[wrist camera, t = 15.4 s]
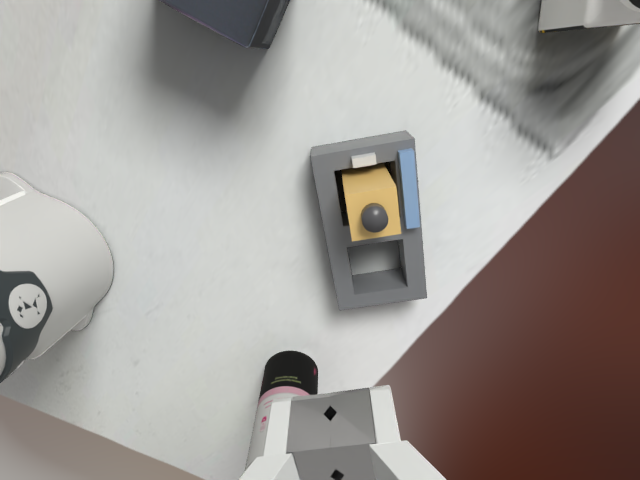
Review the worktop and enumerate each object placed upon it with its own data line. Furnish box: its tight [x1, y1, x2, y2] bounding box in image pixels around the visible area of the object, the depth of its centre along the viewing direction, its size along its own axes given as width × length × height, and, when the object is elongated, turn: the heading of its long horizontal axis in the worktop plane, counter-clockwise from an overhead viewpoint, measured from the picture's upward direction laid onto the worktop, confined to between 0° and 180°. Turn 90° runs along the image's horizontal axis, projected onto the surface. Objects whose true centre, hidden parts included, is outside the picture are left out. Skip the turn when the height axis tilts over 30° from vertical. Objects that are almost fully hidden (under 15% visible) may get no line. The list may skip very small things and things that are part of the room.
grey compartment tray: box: [310, 131, 427, 310], centre depth 39 cm, size 9×16×5 cm, turn 10°
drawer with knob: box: [341, 163, 401, 241], centre depth 35 cm, size 4×4×10 cm
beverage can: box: [245, 351, 318, 471], centre depth 43 cm, size 6×6×15 cm
